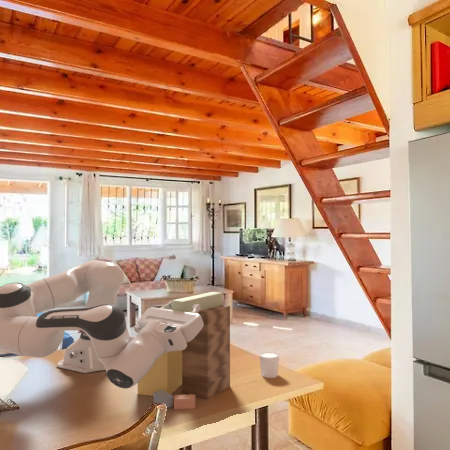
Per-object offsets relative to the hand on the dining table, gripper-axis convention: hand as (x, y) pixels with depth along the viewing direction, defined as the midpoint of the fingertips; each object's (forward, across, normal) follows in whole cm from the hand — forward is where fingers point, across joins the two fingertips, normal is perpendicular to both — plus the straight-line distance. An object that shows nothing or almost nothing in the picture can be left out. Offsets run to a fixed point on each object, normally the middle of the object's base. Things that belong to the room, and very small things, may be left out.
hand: (185, 304), depth 122 cm
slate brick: (-19, -4, -22) cm, 29 cm away
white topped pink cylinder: (+14, +11, -41) cm, 45 cm away
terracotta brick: (-17, +3, -23) cm, 29 cm away
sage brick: (+4, 0, -5) cm, 7 cm away
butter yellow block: (-12, -12, -26) cm, 31 cm away
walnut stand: (-5, 0, -30) cm, 30 cm away
